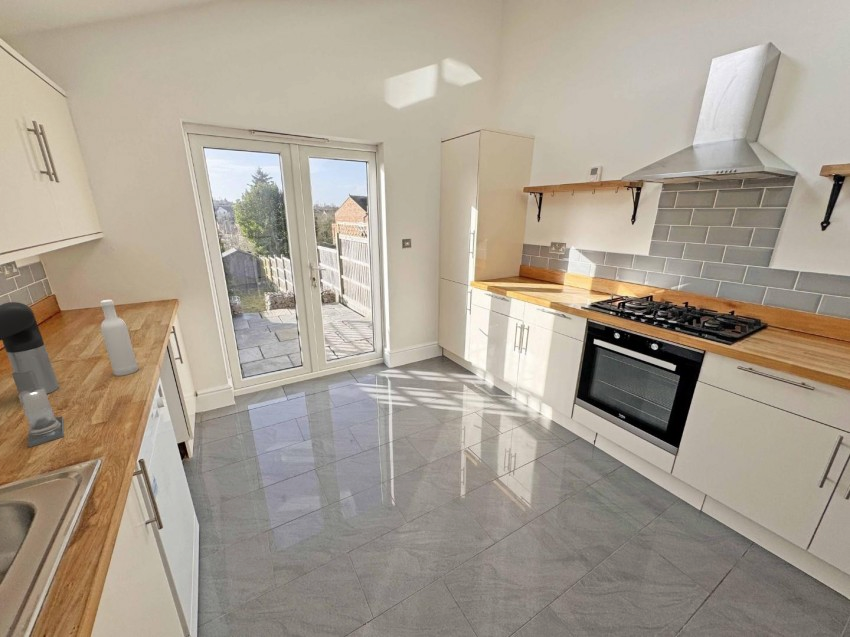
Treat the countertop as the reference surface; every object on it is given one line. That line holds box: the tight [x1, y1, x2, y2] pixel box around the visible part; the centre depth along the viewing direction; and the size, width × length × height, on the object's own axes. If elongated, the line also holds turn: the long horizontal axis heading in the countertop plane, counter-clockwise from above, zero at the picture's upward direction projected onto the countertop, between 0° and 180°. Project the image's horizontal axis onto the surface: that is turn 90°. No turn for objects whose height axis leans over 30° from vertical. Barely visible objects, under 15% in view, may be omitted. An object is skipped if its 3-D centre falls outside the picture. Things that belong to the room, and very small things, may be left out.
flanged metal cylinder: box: [17, 388, 59, 434], centre depth 105 cm, size 6×6×12 cm
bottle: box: [100, 299, 139, 377], centre depth 143 cm, size 8×8×30 cm
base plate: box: [27, 415, 65, 448], centre depth 107 cm, size 12×7×2 cm, turn 44°
